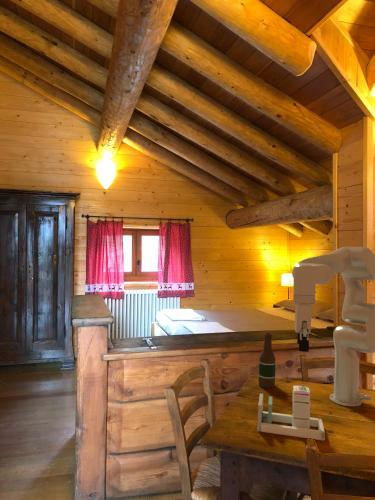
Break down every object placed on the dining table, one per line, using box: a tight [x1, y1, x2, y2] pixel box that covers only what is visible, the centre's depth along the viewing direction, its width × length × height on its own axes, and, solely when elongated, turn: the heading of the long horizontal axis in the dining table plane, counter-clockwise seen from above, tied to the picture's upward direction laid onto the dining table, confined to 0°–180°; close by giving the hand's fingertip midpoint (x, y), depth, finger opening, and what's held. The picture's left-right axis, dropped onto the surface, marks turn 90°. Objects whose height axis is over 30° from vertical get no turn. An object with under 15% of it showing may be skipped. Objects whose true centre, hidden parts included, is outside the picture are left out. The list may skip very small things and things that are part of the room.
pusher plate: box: [262, 396, 273, 424], centre depth 136 cm, size 3×7×9 cm, turn 166°
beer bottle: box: [257, 332, 276, 389], centre depth 176 cm, size 8×8×24 cm
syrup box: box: [291, 385, 311, 429], centre depth 134 cm, size 6×6×14 cm
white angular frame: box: [256, 393, 326, 442], centre depth 134 cm, size 22×11×9 cm, turn 76°
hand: (302, 347), depth 135 cm, fingers open, 9 cm apart
